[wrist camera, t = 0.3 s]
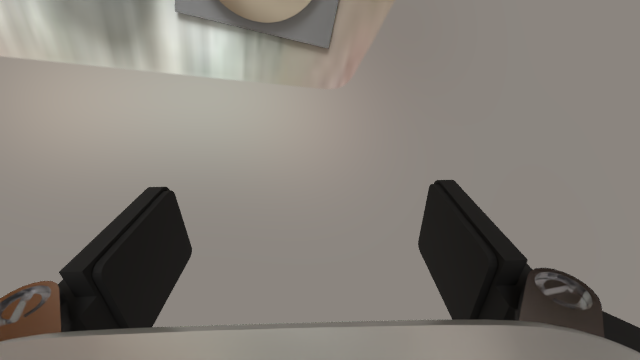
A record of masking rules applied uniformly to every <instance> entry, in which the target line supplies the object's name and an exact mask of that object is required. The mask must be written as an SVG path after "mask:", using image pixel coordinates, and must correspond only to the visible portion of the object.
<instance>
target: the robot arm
mask: <svg viewBox="0 0 640 360" xmlns="http://www.w3.org/2000/svg"><path fill="white" fill-rule="evenodd" d="M418 245H419V250H420V252H421V254H422V257H423V259H424V261H425V263H426V265H427V267H428V269H429V271H430V273H431V276H432V278H433V280H434V282H435V284H436V286H437V288H438V290H439V292H440V294H441V296H442V299H443V300H444V303H445V305H446V307H447V309H448V311H449V313H450V315H451V317H452V320H398V321H352V322H315V323H314V322H313V323H278V324H277V323H276V324H245V325H244V324H242V325H214V326H213V325H211V326H184V327H183V326H180V327H152V326H153V324H154V323H155V321H156V319H157V317H158V315H159V313H160V312H161V310H162V308H163V306H164V304H165V302H166V300H167V299H168V297H169V295H170V293H171V291H172V290H173V288H174V286H175V284H176V282H177V280H178V278H179V277H180V275H181V273H182V271H183V269H184V268H185V266H186V264H187V262H188V260H189V258H190V256H191V252H192V248H191V244H190V241H189V238H188V235H187V231H186V228H185V225H184V222H183V219H182V215H181V212H180V209H179V206H178V203H177V200H176V196H175V194H174V192H173V191H170V190H169V189H168V188H167V187H149V188H147V189H146V190H145V191H144V192H143V193H142V194H141V195H140V196H139V197H138V198H137V199H135V200H134V201H133V202H132V203H131V204H130V205H129V206H128V207H127V208H126V209H125V210H124V211H123V212H122V213H121V214H120V215H119V216H118V217H117V218H116V219H114V221H112V222H111V223H110V224H109V225H108V226H107V227H106V228H105V229H104V230H103V231H102V232H101V233H100V234H99V235H98V236H97V237H95V239H93V240H92V241H91V242H90V243H89V244H88V245H87V246H86V247H85V248H84V249H83V250H82V251H81V252H80V253H79V254H78V255H77V256H75V257H74V258H73V259H72V260H71V261H70V262H69V263H68V264H67V265H66V266H65V267H64V268H63V269H62V270H61V271H60V272H59V273H60V275H61V276H62V278H63V280H62V281H61V282H60V283H59V284H57V283H55V282H53V281H40V282H35V283H31V284H28V285H25V286H22V287H20V288H18V289H16V290H14V291H12V292H10V293H8V294H7V295H5V296H3V297H2V298H0V360H640V328H638V327H636V326H634V325H632V324H630V323H627V322H625V321H623V320H621V319H619V318H617V317H614V316H612V315H610V314H608V313H606V312H603V311H602V306H601V302H600V299H599V297H598V296H597V295H596V294H595V292H594V291H593V290H592V289H591V288H590V287H588V286H587V285H586V284H585V283H583V282H582V281H580V280H579V279H577V278H575V277H574V276H571V275H569V274H567V273H565V272H562V271H558V270H555V269H551V268H535V269H534V270H532V269H531V268H530V267H529V265H528V264H527V263H526V262H527V259H526V257H525V256H524V255H523V254H521V252H520V251H519V250H518V249H517V248H516V247H515V246H514V245H513V244H512V242H511V241H510V240H509V239H508V238H507V237H506V236H505V235H504V234H503V233H502V232H501V231H500V230H499V228H498V227H497V226H496V225H495V224H494V223H493V222H492V221H491V220H490V219H489V218H488V217H487V216H486V214H485V213H484V212H483V211H482V210H481V209H480V208H479V207H478V206H477V205H476V204H475V203H474V201H473V200H472V199H471V198H470V197H469V196H468V195H467V194H466V193H465V192H464V191H463V190H462V188H461V187H460V186H459V185H458V184H457V183H456V182H455V181H454V180H437V181H435V183H434V184H431V185H430V187H429V191H428V196H427V201H426V206H425V211H424V216H423V221H422V226H421V231H420V236H419V243H418Z"/></svg>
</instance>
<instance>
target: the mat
mask: <svg viewBox="0 0 640 360" xmlns="http://www.w3.org/2000/svg"><path fill="white" fill-rule="evenodd" d="M338 1H339V0H311V2H310V3H309V4H308V5H307V6H306V7H305V8H304V9H303V10H302V11H300V12H299V13H298V14H296V15H294V16H293V17H291V18H288V19H286V20H283V21H279V22H273V23H263V22H257V21H252V20H249V19H246V18H243V17H241V16H239V15H237V14H236V13H234V12H232V11H231V10H229V9H228V8H227V7H226V6H225V5H223V4H222V3H221V2H220V1H219V0H175V12H179V13H183V14H187V15H192V16H196V17H200V18H204V19H208V20H212V21H216V22H220V23H225V24H229V25H233V26H237V27H241V28H245V29H249V30H253V31H258V32H262V33H266V34H270V35H274V36H278V37H282V38H286V39H291V40H295V41H299V42H303V43H307V44H311V45H315V46H319V47H324V48H329V43H330V38H331V34H332V29H333V24H334V20H335V15H336V10H337V5H338Z"/></svg>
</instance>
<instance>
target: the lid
mask: <svg viewBox="0 0 640 360" xmlns="http://www.w3.org/2000/svg"><path fill="white" fill-rule="evenodd" d="M219 1H220V2H221V3H222V4H223V5H225V6H226V7H227V8H228V9H229V10H231V11H232V12H234V13H236V14H237V15H239V16H241V17H243V18H246V19H249V20H252V21H257V22H263V23H273V22H279V21H283V20H286V19H288V18H291V17H293V16H294V15H296V14H298V13H299V12H300V11H302V10H303V9H304V8H305V7H306V6H307V5H308V4H309V3H310V2H311V0H219Z"/></svg>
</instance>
